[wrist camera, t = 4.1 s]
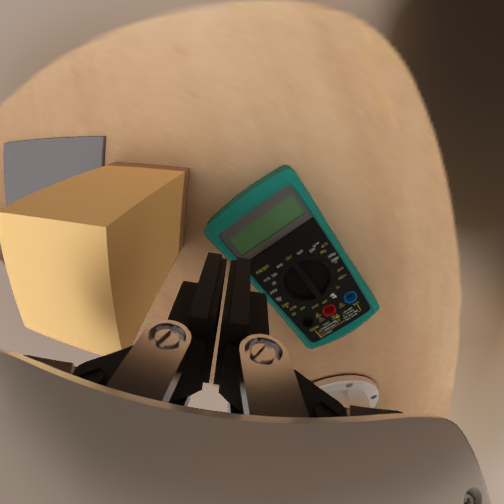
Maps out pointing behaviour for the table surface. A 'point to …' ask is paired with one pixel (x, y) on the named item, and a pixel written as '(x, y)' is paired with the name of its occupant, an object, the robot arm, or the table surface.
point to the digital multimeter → (293, 258)
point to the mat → (48, 162)
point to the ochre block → (95, 251)
